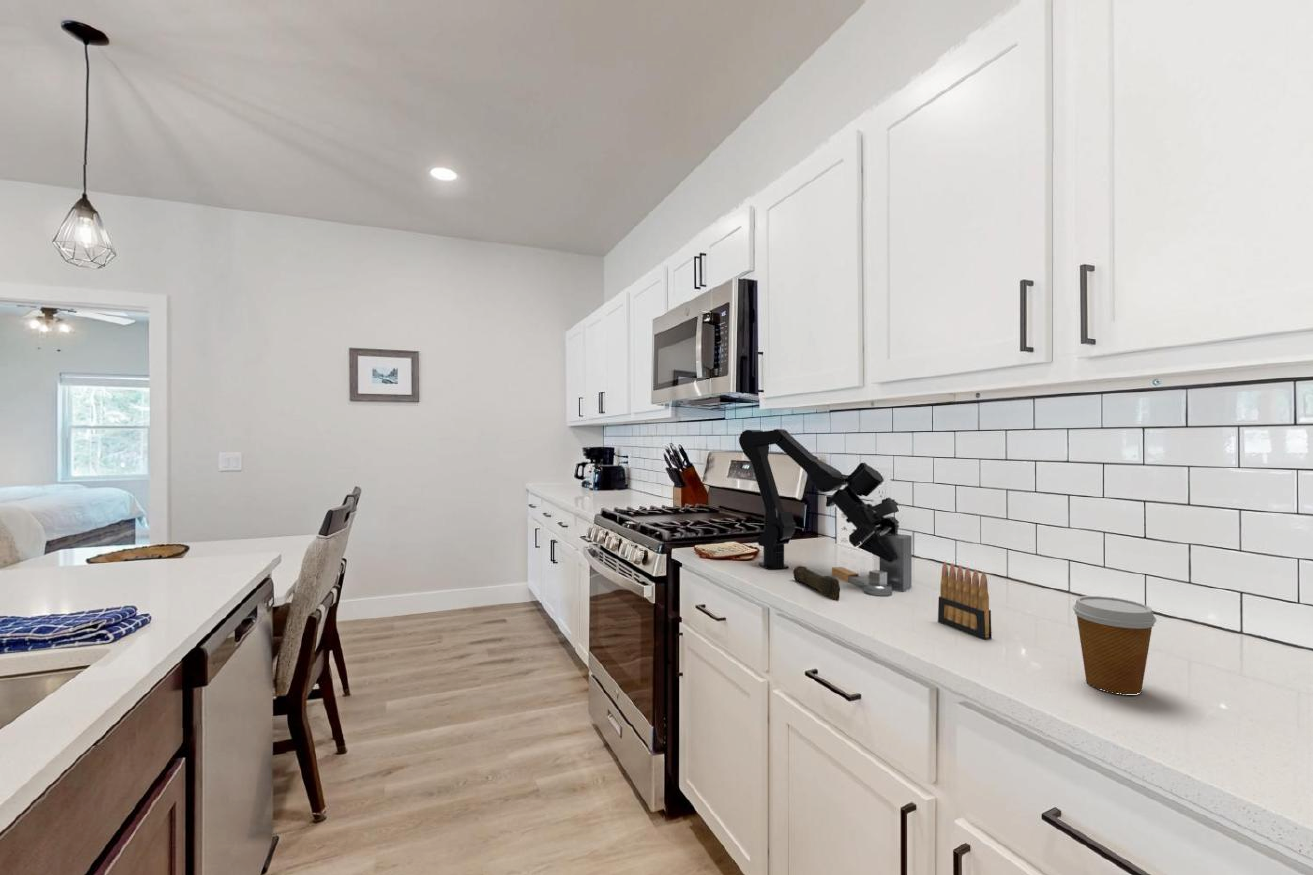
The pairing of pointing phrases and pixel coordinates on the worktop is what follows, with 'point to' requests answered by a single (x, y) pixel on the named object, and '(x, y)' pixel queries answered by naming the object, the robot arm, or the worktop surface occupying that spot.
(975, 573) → the ammunition clip
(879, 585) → the ratchet
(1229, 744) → the worktop surface
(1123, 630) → the disposable coffee cup
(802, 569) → the hand tool
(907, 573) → the grey metal square prism
